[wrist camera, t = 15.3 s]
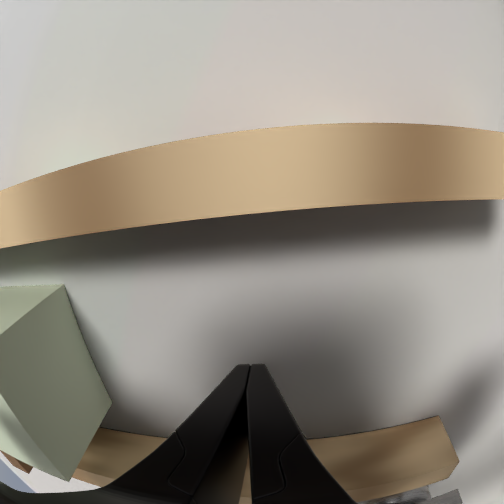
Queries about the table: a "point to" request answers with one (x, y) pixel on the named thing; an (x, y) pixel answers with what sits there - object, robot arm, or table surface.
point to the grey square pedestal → (417, 498)
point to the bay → (259, 201)
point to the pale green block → (46, 381)
